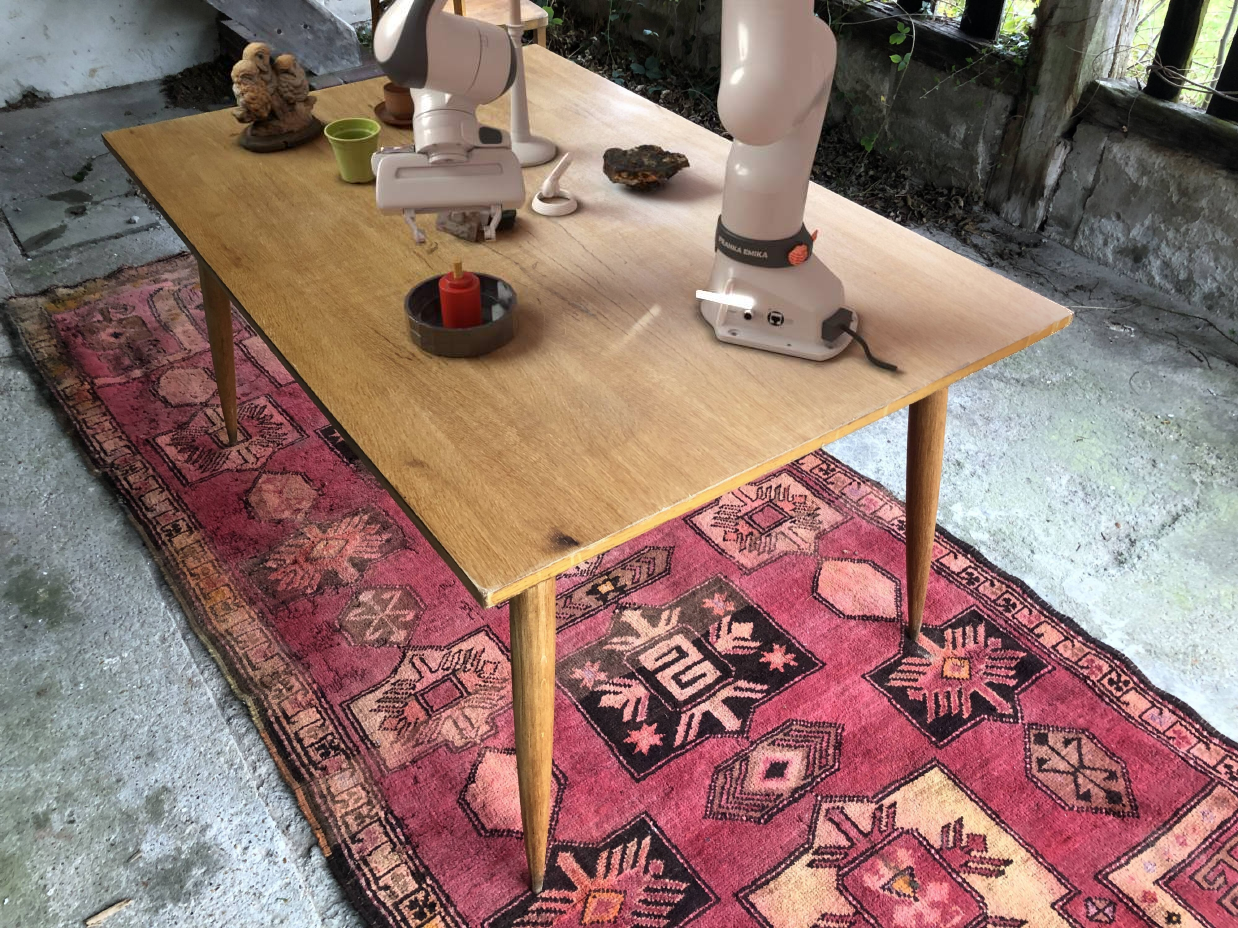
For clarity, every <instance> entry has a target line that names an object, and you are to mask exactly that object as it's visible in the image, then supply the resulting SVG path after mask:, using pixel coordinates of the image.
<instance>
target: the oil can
mask: <svg viewBox="0 0 1238 928" xmlns="http://www.w3.org/2000/svg"><path fill="white" fill-rule="evenodd" d="M452 269H453V270H452V271H449V272H447V273H448V274H447V275H445V276H443V277H442V278H441V279H440V281H439V289H440V298H441V307H442V316H443V325H444V328H450V329H458V328H471V327H476V326H480V325H483V320H482V308H481V295H480V283H479V279H478V277H477V276H475V275H473V274H471V273H469V272H470V271H467V270H463V261H462V259H461V258H454V259H452Z"/></svg>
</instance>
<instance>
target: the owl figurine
mask: <svg viewBox="0 0 1238 928" xmlns="http://www.w3.org/2000/svg"><path fill="white" fill-rule="evenodd" d="M270 49H271V48H270V47H269V46H268V45H267V44H265V43H264V42H251V43H248V44H247V46H246V47H245V48H244V50H243V52H242V60H239V61H238V62H237V63H235V65H233V67H232V71H231V73H230V76H231V79H232V82H233V85H232V91H233V93H234V96H235V98H236V104H237V107H235V108H234V110H231V111H230V115H231V116H232V117H234V118H235V119H236V121H237V123H239V124H242V125H243V124H245V125H246V124H247V125H246V126H245V127H244V128H243V130H241V132H240V133H238V136H237V142H238V144H239V146H240V147H242V148H247V149H249V150H250V151H254V152H258V153H259V152H261V153H262V152H263V153H269V152H276V151H279V150H284V149H286V146H287V147H288V148H295V147H297V146H300V145H301V144H304V143H308V142H309V141H311V140H312V139H314V138H316V137H317V136H318V135H319V134H320V132H321V131H322V127H323V126H322V122H321V120H320V119H319V118H317V117H316V116H315V115H314V114H312V111H313V110H314V106H315V104H316V103H317V102H318V99H317V96H316V95H309V93H310V87H309V82H308V79H307V74H306V71H305V69H303V67H301V65H300V62H299V61H298V59H297V58H296V57H295V56H294V55H292V54H285V53H284V54H282V55H279V56H278V57H277V58H276V59H275V60H274V61H273V64H272V65H271V63H270V55H271V50H270ZM285 142H286V143H287V145H286V143H285Z"/></svg>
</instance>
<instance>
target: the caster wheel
mask: <svg viewBox="0 0 1238 928" xmlns="http://www.w3.org/2000/svg"><path fill="white" fill-rule="evenodd" d="M517 214H518V211H517V209H515V210H501V219H500V221H499V223H498V225H497V227H496V229H495V232H508V231H511V230H512V229H514V227H515V225H516V219H517ZM492 220H493V218H492V217H491V211H475V212H454V213H436V220H435V224H434V229H435V230H436V231H438V232H442V233H444V234H448V235H451V236H454V237H457V238H460V239H462V240H467V241H469V242H471V243H472V242H476V237H477V231H483V232H484V226H490V224H491V222H492Z"/></svg>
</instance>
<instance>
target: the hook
mask: <svg viewBox="0 0 1238 928" xmlns="http://www.w3.org/2000/svg"><path fill="white" fill-rule="evenodd" d="M574 160H575V159H574V156H573V154H572V153H571V152H569V151H568V152H566V153H565V154H564V156H563V157H562V158H561V160H560V161H559V162H558V163H557V165H556V166H555V167H554V169H553V170H552V171H551V172H550V174H549V175H548V177H546V179H545V180H544V181H543V183H542V185H540V188H539V191H538V192H537V193H536V194H535V196H534V197H533V199H532V203H531V208H532V209H533V211H535V212H536V213H538V214H540V215H543V216H548V217H549V216H550V217H558V216H559V217H560V216H565V215H568V214H571V213H573V212H574V211H575V210H577V208H578V204H577V200H576V198H575V196H574V194H573V193H572V192H570V191H569V190H567V189H564V188H563V189H562V188H561V185H560V182H559V180H560V179H561V177H562V176H563V175H564V174H565V173H566V171H567V170H568V169H569V167H570V166H571V165H572V163H573V161H574ZM552 197H560V198H565V199H568V201H566V202H563V203H557V204H556V203H553V204H551V203H546V202H543V201H541V200H540V199H543V198H549V199H550V198H552Z"/></svg>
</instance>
